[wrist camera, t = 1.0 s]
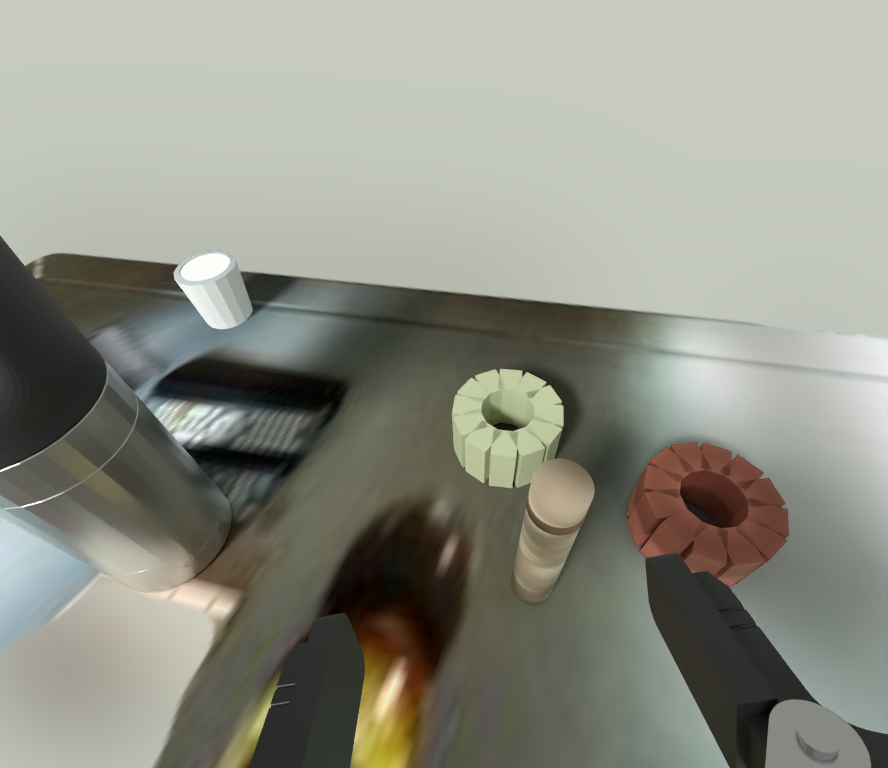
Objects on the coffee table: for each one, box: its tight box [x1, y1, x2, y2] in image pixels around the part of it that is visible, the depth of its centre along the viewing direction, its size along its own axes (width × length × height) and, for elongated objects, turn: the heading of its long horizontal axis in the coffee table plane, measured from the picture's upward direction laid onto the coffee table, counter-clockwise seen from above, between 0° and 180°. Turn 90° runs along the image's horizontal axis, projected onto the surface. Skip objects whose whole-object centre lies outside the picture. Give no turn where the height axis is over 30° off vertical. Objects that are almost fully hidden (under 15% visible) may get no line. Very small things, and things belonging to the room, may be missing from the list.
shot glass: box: [174, 251, 253, 329], centre depth 53 cm, size 7×7×7 cm
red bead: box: [626, 442, 789, 587], centre depth 33 cm, size 9×9×5 cm
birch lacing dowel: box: [511, 458, 595, 605], centre depth 27 cm, size 3×3×15 cm
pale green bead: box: [452, 369, 564, 488], centre depth 39 cm, size 9×9×5 cm
